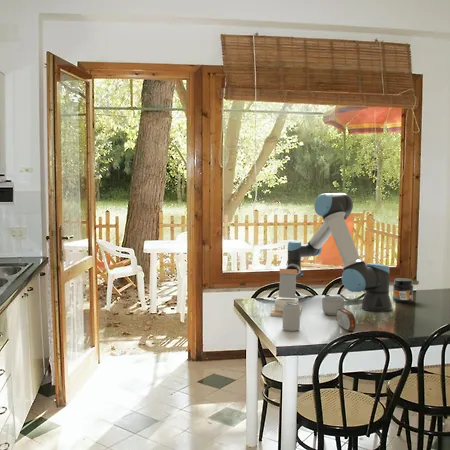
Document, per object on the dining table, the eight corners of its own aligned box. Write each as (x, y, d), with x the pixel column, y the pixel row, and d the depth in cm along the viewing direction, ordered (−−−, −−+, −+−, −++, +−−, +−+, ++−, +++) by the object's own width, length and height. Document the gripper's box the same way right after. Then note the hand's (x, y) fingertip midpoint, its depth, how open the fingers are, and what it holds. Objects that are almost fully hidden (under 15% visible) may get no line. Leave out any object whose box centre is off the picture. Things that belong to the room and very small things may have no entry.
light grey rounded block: (343, 317, 266) (344, 301, 265) (320, 316, 268) (321, 299, 267) (343, 310, 279) (343, 295, 279) (321, 309, 281) (322, 293, 281)
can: (281, 327, 246) (281, 301, 245) (297, 327, 247) (298, 301, 246) (284, 332, 239) (284, 305, 238) (301, 332, 240) (301, 304, 239)
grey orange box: (278, 297, 277) (280, 270, 281) (295, 298, 275) (297, 270, 280) (278, 296, 274) (279, 268, 279) (295, 297, 272) (296, 269, 277)
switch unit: (274, 307, 285) (274, 294, 284) (301, 308, 282) (302, 296, 282) (270, 315, 267) (270, 302, 267) (299, 317, 265) (299, 304, 264)
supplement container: (403, 304, 295) (404, 282, 294) (388, 300, 304) (389, 278, 303) (417, 302, 300) (417, 280, 299) (401, 298, 309) (402, 277, 308)
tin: (356, 333, 239) (356, 314, 238) (349, 333, 238) (349, 314, 237) (341, 324, 254) (342, 306, 253) (335, 324, 253) (335, 306, 252)
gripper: (304, 278, 305) (301, 286, 282) (280, 277, 308) (275, 285, 285) (304, 265, 304) (301, 272, 281) (280, 264, 307) (276, 271, 284)
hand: (288, 278), depth 283 cm, fingers closed
